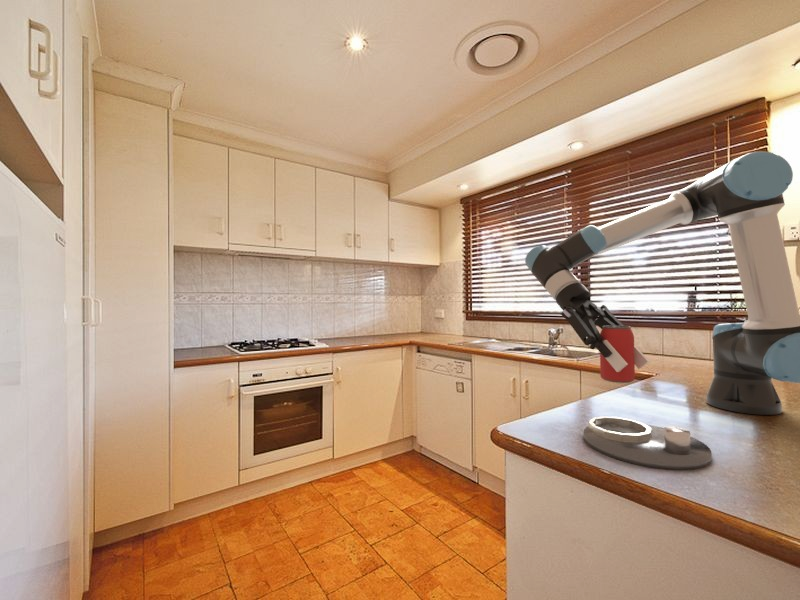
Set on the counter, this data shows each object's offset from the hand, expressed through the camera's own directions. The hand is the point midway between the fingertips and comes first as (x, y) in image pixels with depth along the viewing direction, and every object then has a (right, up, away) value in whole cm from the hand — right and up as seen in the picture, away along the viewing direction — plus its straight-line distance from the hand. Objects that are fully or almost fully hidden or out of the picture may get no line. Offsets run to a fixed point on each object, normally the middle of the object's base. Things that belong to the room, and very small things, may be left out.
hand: (633, 366), depth 77 cm
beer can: (-1, -4, +3) cm, 5 cm away
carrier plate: (+1, -16, -1) cm, 16 cm away
